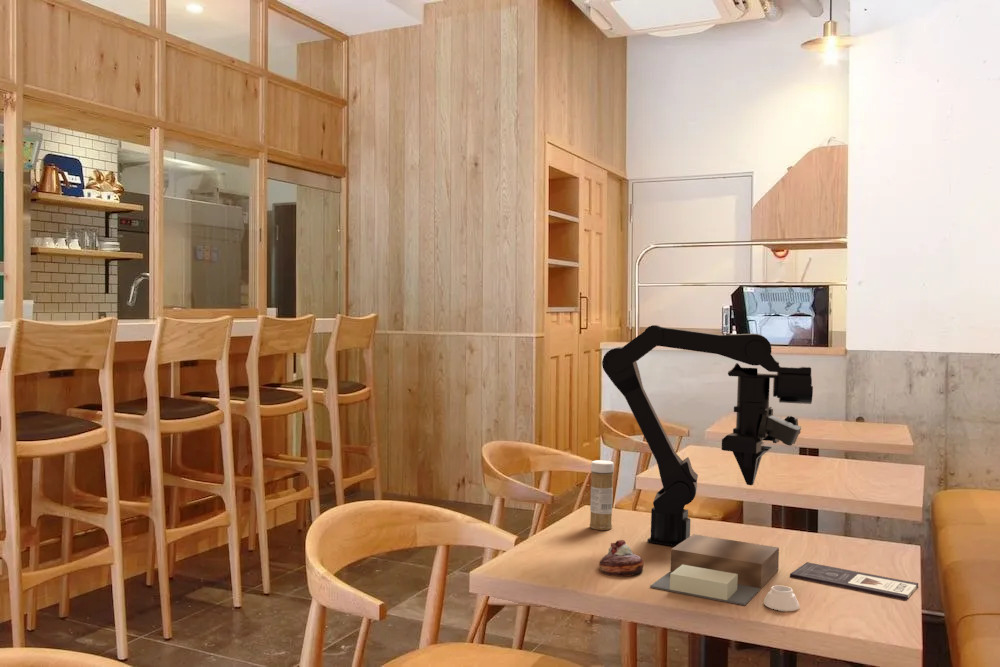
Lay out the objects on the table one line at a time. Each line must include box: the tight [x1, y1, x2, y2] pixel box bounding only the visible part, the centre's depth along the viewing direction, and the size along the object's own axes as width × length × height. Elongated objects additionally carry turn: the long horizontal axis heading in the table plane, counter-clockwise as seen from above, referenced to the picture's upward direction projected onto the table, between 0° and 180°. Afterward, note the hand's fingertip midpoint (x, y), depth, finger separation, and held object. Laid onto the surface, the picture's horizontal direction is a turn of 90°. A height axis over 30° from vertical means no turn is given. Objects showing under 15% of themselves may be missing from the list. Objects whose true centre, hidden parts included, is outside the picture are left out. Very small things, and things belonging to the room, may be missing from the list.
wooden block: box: [669, 533, 780, 590], centre depth 149 cm, size 15×12×4 cm
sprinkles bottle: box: [589, 459, 615, 531], centre depth 177 cm, size 5×5×14 cm
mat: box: [649, 571, 761, 606], centre depth 140 cm, size 15×9×1 cm, turn 60°
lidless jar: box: [763, 585, 800, 612], centre depth 132 cm, size 5×3×5 cm
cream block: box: [670, 565, 738, 600], centre depth 138 cm, size 9×6×2 cm, turn 60°
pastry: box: [598, 539, 645, 577], centre depth 149 cm, size 8×8×5 cm
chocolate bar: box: [789, 561, 919, 601], centre depth 146 cm, size 9×1×18 cm
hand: (750, 484), depth 164 cm, fingers closed
